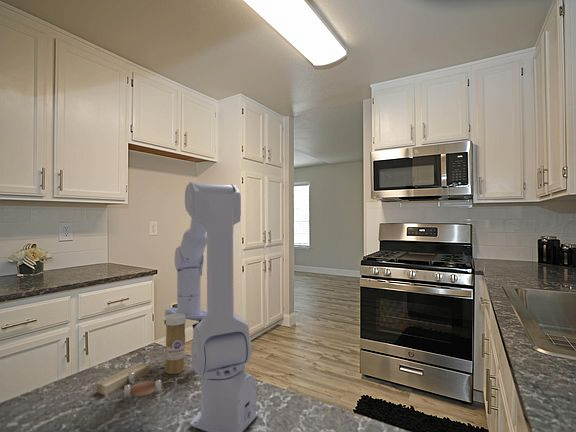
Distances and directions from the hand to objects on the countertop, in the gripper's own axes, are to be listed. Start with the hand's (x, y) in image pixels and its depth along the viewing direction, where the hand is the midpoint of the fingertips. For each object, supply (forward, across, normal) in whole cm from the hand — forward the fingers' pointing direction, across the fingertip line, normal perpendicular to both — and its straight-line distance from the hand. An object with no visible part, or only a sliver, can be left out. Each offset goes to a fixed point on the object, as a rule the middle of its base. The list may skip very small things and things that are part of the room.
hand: (188, 347), depth 80 cm
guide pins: (+4, 0, +14) cm, 14 cm away
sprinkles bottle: (+4, 0, +4) cm, 6 cm away
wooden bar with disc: (+4, 0, +14) cm, 14 cm away
